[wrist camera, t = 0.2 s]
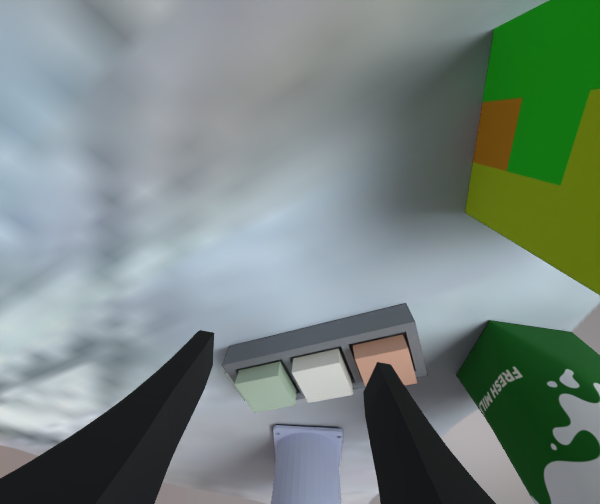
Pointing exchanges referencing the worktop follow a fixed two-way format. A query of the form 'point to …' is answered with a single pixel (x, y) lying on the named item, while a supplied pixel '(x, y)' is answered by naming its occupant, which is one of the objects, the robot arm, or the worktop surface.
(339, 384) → the cream key
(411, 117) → the worktop surface
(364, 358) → the terracotta key
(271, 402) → the sage key
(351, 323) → the key panel
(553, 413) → the milk carton
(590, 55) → the puzzle toy
